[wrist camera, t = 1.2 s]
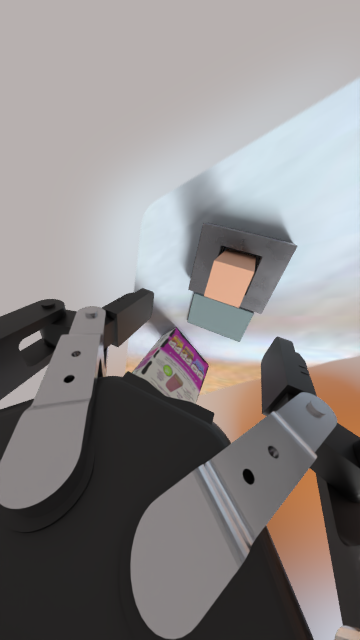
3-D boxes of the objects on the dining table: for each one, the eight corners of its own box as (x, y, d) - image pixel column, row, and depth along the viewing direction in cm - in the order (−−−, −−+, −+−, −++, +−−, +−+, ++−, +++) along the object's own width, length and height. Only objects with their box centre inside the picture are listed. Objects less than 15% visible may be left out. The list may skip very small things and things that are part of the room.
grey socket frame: (293, 243, 21) (297, 246, 19) (261, 305, 26) (261, 314, 24) (208, 223, 24) (203, 223, 21) (194, 283, 29) (188, 289, 26)
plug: (256, 256, 23) (254, 271, 16) (244, 283, 26) (238, 307, 18) (227, 248, 24) (214, 260, 17) (219, 275, 27) (203, 296, 19)
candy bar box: (160, 336, 37) (107, 399, 24) (176, 326, 34) (124, 391, 21) (193, 372, 39) (159, 450, 26) (210, 366, 36) (181, 450, 23)
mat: (253, 312, 27) (253, 313, 27) (239, 340, 31) (239, 342, 30) (195, 292, 29) (194, 293, 29) (187, 321, 33) (187, 322, 32)
